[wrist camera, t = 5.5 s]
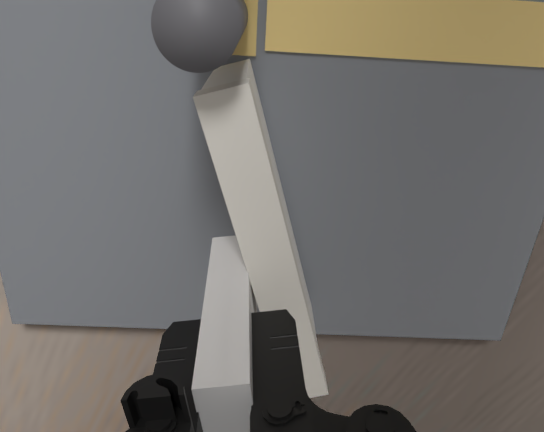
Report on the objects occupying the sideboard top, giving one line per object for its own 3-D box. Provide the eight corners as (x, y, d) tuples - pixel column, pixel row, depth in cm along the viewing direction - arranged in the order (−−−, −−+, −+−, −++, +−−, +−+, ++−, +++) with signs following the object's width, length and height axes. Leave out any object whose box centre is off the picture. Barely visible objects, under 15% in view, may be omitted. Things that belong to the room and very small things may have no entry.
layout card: (-181, -606, 10) (-220, -659, 9) (771, -496, 11) (811, -535, 10) (21, 312, 21) (11, 325, 20) (492, 329, 22) (501, 341, 21)
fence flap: (212, 68, 15) (192, 96, 11) (252, 57, 15) (248, 83, 11) (282, 313, 20) (287, 402, 16) (314, 306, 20) (328, 394, 15)
